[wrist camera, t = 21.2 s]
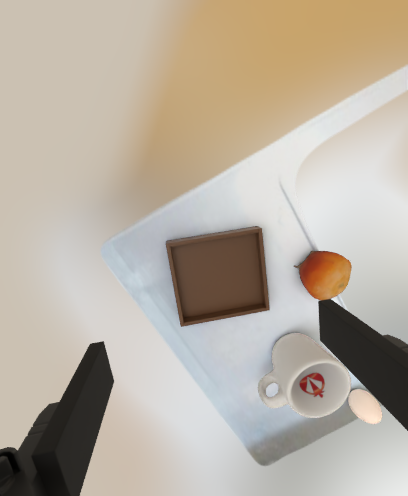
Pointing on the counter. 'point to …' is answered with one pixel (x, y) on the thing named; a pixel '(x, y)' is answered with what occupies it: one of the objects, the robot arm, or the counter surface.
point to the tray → (218, 275)
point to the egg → (365, 406)
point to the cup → (305, 377)
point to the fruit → (325, 274)
